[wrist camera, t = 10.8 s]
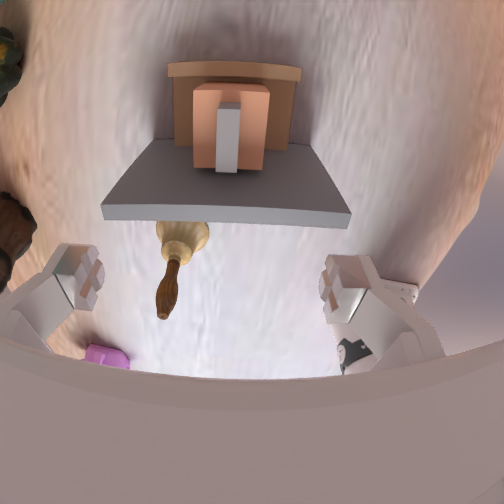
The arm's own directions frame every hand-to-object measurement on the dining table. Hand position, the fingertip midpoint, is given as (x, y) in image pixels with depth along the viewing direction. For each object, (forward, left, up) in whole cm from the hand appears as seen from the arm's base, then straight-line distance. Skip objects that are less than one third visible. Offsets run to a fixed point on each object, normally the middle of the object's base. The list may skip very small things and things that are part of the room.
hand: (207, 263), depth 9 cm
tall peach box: (0, 0, -24) cm, 24 cm away
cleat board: (0, +2, -27) cm, 27 cm away
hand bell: (+7, +19, -27) cm, 34 cm away
